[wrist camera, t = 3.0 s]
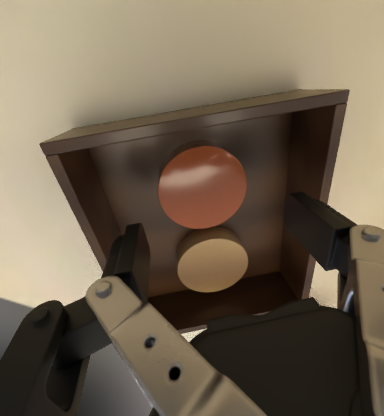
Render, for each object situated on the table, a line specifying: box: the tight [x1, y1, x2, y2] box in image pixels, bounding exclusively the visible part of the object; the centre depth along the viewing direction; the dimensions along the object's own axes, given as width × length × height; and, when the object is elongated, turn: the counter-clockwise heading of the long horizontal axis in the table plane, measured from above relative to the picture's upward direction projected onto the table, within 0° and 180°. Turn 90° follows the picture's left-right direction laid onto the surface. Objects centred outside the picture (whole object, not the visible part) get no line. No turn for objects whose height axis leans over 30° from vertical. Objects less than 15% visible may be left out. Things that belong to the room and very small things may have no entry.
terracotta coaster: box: [158, 140, 247, 229], centre depth 15 cm, size 6×6×2 cm
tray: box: [40, 89, 350, 334], centre depth 16 cm, size 17×15×4 cm
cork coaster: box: [176, 226, 248, 292], centre depth 19 cm, size 6×6×2 cm
